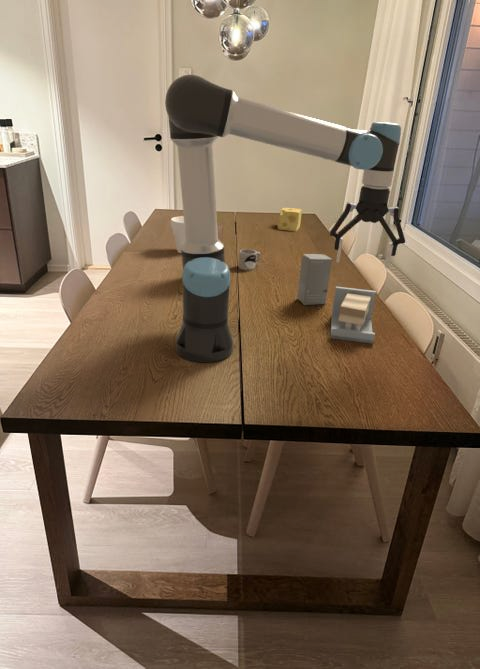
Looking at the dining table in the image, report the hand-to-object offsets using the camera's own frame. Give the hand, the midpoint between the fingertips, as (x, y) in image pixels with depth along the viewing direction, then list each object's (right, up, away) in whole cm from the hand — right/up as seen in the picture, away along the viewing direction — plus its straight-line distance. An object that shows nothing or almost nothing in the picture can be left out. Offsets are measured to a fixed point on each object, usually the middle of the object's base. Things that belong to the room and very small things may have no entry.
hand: (362, 264), depth 138 cm
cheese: (-9, +36, +119) cm, 125 cm away
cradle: (-1, -18, +9) cm, 20 cm away
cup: (-58, +15, +71) cm, 93 cm away
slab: (-1, -14, +7) cm, 16 cm away
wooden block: (-47, 0, +40) cm, 62 cm away
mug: (-31, +7, +57) cm, 65 cm away
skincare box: (-10, -9, +28) cm, 31 cm away
